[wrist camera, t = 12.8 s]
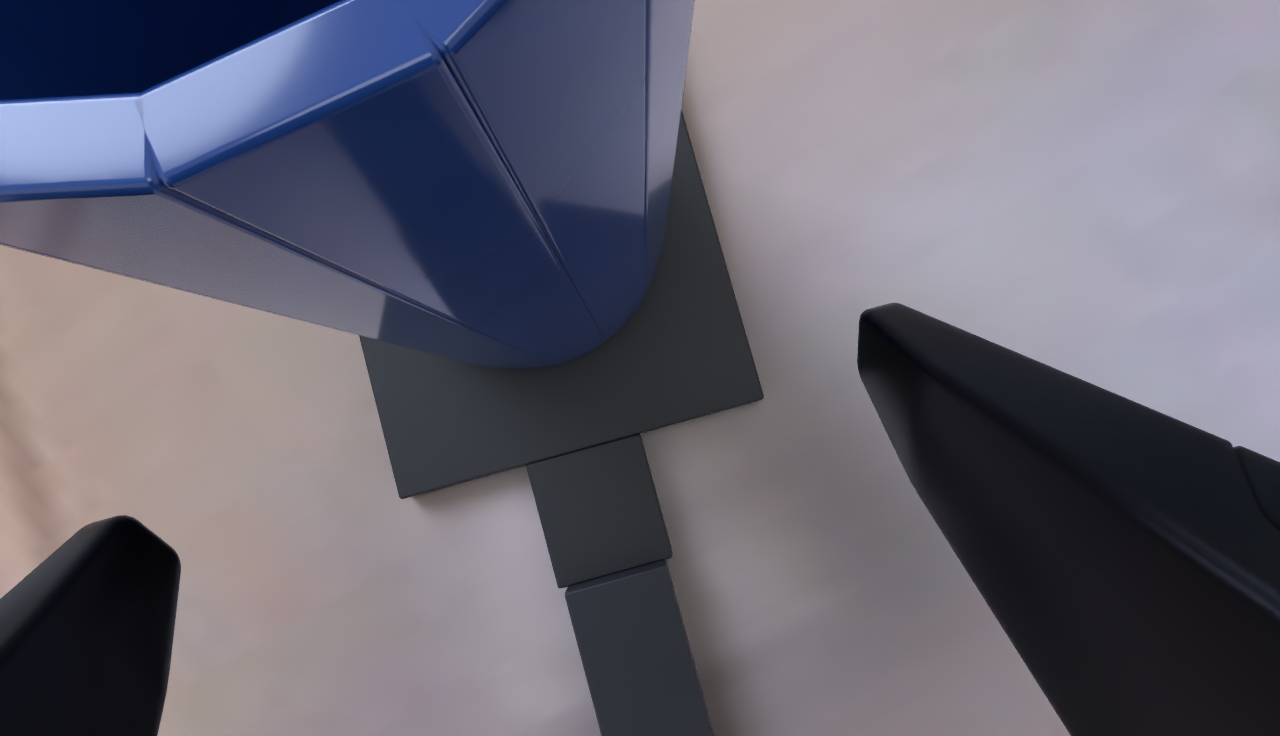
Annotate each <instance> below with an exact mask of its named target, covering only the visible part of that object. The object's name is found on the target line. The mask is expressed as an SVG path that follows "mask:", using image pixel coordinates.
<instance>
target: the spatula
mask: <svg viewBox="0 0 1280 736" xmlns="http://www.w3.org/2000/svg"><path fill="white" fill-rule="evenodd" d="M359 337H360V341H361V345H362V349H363V353H364V357H365V361H366V365H367V369H368V373H369V377H370V381H371V385H372V389H373V393H374V397H375V401H376V405H377V409H378V413H379V417H380V421H381V425H382V429H383V433H384V437H385V441H386V445H387V449H388V453H389V457H390V461H391V465H392V469H393V473H394V477H395V481H396V485H397V489H398V493H399V497H400V498H401V499H405V498H408V497H412V496H415V495H419V494H423V493H426V492H430V491H434V490H437V489H441V488H444V487H448V486H452V485H455V484H459V483H463V482H466V481H470V480H473V479H477V478H481V477H484V476H488V475H491V474H495V473H499V472H502V471H506V470H510V469H513V468H517V467H520V466H524V465H527V470H528V474H529V478H530V482H531V486H532V490H533V493H534V497H535V501H536V505H537V509H538V512H539V516H540V520H541V524H542V528H543V531H544V535H545V539H546V543H547V547H548V551H549V554H550V558H551V562H552V566H553V570H554V573H555V577H556V581H557V585H558V587H559V588H564V587H568V588H567V590H566V592H565V598H566V602H567V606H568V610H569V613H570V617H571V621H572V625H573V629H574V632H575V636H576V640H577V644H578V648H579V651H580V655H581V659H582V663H583V667H584V670H585V674H586V678H587V682H588V686H589V689H590V693H591V697H592V701H593V705H594V709H595V712H596V716H597V720H598V724H599V728H600V731H601V735H602V736H714V734H713V730H712V726H711V723H710V719H709V715H708V712H707V708H706V704H705V701H704V697H703V693H702V690H701V686H700V682H699V679H698V675H697V671H696V668H695V664H694V660H693V657H692V653H691V649H690V646H689V642H688V638H687V635H686V631H685V627H684V624H683V620H682V616H681V613H680V609H679V606H678V602H677V598H676V595H675V591H674V587H673V584H672V580H671V576H670V573H669V569H668V565H667V562H666V559H668V558H671V557H672V556H673V553H672V549H671V545H670V541H669V538H668V534H667V530H666V527H665V523H664V520H663V516H662V512H661V509H660V505H659V501H658V498H657V494H656V490H655V487H654V483H653V479H652V476H651V472H650V468H649V465H648V461H647V458H646V454H645V450H644V447H643V443H642V439H641V436H640V433H643V432H647V431H651V430H654V429H658V428H661V427H665V426H669V425H672V424H676V423H680V422H683V421H687V420H690V419H694V418H698V417H701V416H705V415H708V414H712V413H716V412H719V411H723V410H727V409H730V408H734V407H737V406H741V405H745V404H748V403H752V402H756V401H759V400H762V399H763V398H764V395H763V392H762V388H761V385H760V381H759V378H758V374H757V371H756V367H755V364H754V360H753V357H752V353H751V350H750V346H749V343H748V340H747V336H746V333H745V329H744V326H743V322H742V319H741V315H740V312H739V308H738V305H737V301H736V298H735V294H734V291H733V287H732V284H731V280H730V277H729V273H728V270H727V266H726V263H725V259H724V256H723V253H722V249H721V246H720V242H719V239H718V235H717V232H716V228H715V225H714V221H713V218H712V214H711V211H710V207H709V204H708V200H707V197H706V193H705V190H704V186H703V183H702V179H701V176H700V172H699V169H698V165H697V162H696V159H695V155H694V152H693V148H692V145H691V141H690V138H689V134H688V131H687V127H686V124H685V120H684V117H683V113H682V110H681V113H680V121H679V128H678V136H677V144H676V152H675V160H674V168H673V176H672V183H671V191H670V199H669V207H668V215H667V223H666V231H665V239H664V246H663V249H662V252H661V255H660V258H659V261H658V265H657V268H656V272H655V275H654V278H653V280H652V283H651V285H650V287H649V290H648V292H647V294H646V296H645V297H644V300H643V301H642V302H641V304H640V306H639V307H638V309H637V310H636V312H635V313H634V314H633V315H632V317H631V318H630V319H629V320H628V322H627V323H626V324H625V325H624V326H623V327H622V328H621V329H620V330H619V331H618V332H617V333H616V334H615V335H614V336H612V337H611V338H610V339H608V340H607V341H606V342H604V343H603V344H602V345H600V346H599V347H597V348H596V349H594V350H592V351H590V352H588V353H587V354H585V355H583V356H581V357H578V358H576V359H573V360H571V361H568V362H566V363H562V364H558V365H554V366H551V367H545V368H537V369H492V368H488V367H484V366H480V365H476V364H472V363H468V362H464V361H460V360H456V359H452V358H449V357H445V356H441V355H437V354H433V353H429V352H425V351H421V350H417V349H413V348H409V347H405V346H401V345H397V344H393V343H389V342H385V341H381V340H377V339H373V338H369V337H365V336H361V335H359Z"/></svg>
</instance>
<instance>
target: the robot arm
mask: <svg viewBox="0 0 1280 736" xmlns="http://www.w3.org/2000/svg"><path fill="white" fill-rule="evenodd" d="M857 363H858V370H859V374H860V377H861V379H862V382H863V384H864V386H865V388H866V390H867V392H868V394H869V396H870V398H871V401H872V403H873V405H874V407H875V409H876V411H877V413H878V415H879V417H880V419H881V421H882V424H883V426H884V428H885V430H886V432H887V434H888V436H889V438H890V440H891V442H892V444H893V447H894V449H895V451H896V453H897V455H898V457H899V459H900V461H901V463H902V465H903V467H904V469H905V471H906V473H907V475H908V477H909V479H910V481H911V483H912V485H913V486H914V488H915V490H916V491H917V493H918V495H919V496H920V498H921V500H922V501H923V503H924V504H925V506H926V508H927V509H928V511H929V512H930V514H931V516H932V517H933V519H934V520H935V522H936V523H937V525H938V527H939V528H940V530H941V531H942V533H943V534H944V536H945V538H946V539H947V541H948V542H949V544H950V546H951V547H952V549H953V550H954V552H955V553H956V555H957V557H958V558H959V560H960V561H961V563H962V564H963V566H964V568H965V569H966V571H967V572H968V574H969V576H970V577H971V579H972V580H973V582H974V583H975V585H976V587H977V588H978V590H979V591H980V593H981V594H982V596H983V598H984V599H985V601H986V602H987V604H988V606H989V607H990V609H991V610H992V612H993V613H994V615H995V617H996V618H997V620H998V621H999V623H1000V624H1001V626H1002V628H1003V629H1004V631H1005V632H1006V634H1007V636H1008V637H1009V639H1010V640H1011V642H1012V643H1013V645H1014V647H1015V648H1016V650H1017V651H1018V653H1019V654H1020V656H1021V658H1022V659H1023V661H1024V662H1025V664H1026V666H1027V667H1028V669H1029V670H1030V672H1031V673H1032V675H1033V677H1034V678H1035V680H1036V681H1037V683H1038V684H1039V686H1040V688H1041V689H1042V691H1043V692H1044V694H1045V695H1046V697H1047V699H1048V700H1049V702H1050V703H1051V705H1052V707H1053V708H1054V710H1055V711H1056V713H1057V714H1058V716H1059V718H1060V719H1061V721H1062V722H1063V724H1064V725H1065V727H1066V729H1067V730H1068V732H1069V733H1070V735H1071V736H1280V462H1278V461H1275V460H1273V459H1270V458H1268V457H1266V456H1263V455H1261V454H1259V453H1256V452H1254V451H1251V450H1249V449H1247V448H1244V447H1241V446H1237V447H1234V448H1233V446H1232V444H1231V443H1230V442H1229V441H1227V440H1224V439H1222V438H1220V437H1217V436H1215V435H1212V434H1210V433H1208V432H1205V431H1203V430H1201V429H1198V428H1196V427H1193V426H1191V425H1189V424H1186V423H1184V422H1181V421H1179V420H1177V419H1174V418H1172V417H1169V416H1167V415H1165V414H1162V413H1160V412H1158V411H1155V410H1153V409H1150V408H1148V407H1146V406H1143V405H1141V404H1138V403H1136V402H1134V401H1131V400H1129V399H1126V398H1124V397H1122V396H1119V395H1117V394H1115V393H1112V392H1110V391H1107V390H1105V389H1103V388H1100V387H1098V386H1095V385H1093V384H1091V383H1088V382H1086V381H1083V380H1081V379H1079V378H1076V377H1074V376H1071V375H1069V374H1067V373H1064V372H1062V371H1060V370H1057V369H1055V368H1052V367H1050V366H1048V365H1045V364H1043V363H1040V362H1038V361H1036V360H1033V359H1031V358H1028V357H1026V356H1024V355H1021V354H1019V353H1017V352H1014V351H1012V350H1009V349H1007V348H1005V347H1002V346H1000V345H997V344H995V343H993V342H990V341H988V340H985V339H983V338H981V337H978V336H976V335H974V334H971V333H969V332H966V331H964V330H962V329H959V328H957V327H954V326H952V325H950V324H947V323H945V322H942V321H940V320H938V319H935V318H933V317H931V316H928V315H926V314H923V313H921V312H919V311H916V310H914V309H911V308H909V307H907V306H904V305H902V304H898V303H889V304H886V305H882V306H878V307H875V308H871V309H867V310H865V311H864V312H863V313H862V314H861V316H860V320H859V336H858V358H857ZM180 573H181V564H180V559H179V557H178V555H177V553H176V551H175V550H174V549H173V548H172V547H171V546H169V545H168V544H167V543H166V542H164V541H163V540H162V539H161V538H159V537H158V536H157V535H156V534H154V533H153V532H152V531H151V530H149V529H148V528H147V527H146V526H144V525H143V524H142V523H141V522H139V521H138V520H136V519H135V518H133V517H130V516H126V515H124V516H115V517H112V518H108V519H104V520H101V521H97V522H93V523H91V524H88V525H86V526H85V527H83V528H81V529H80V530H79V531H78V532H77V533H75V534H74V535H73V536H72V537H71V538H70V539H69V540H67V541H66V542H65V543H64V544H63V545H62V546H61V547H59V548H58V549H57V550H56V551H55V552H54V553H53V554H51V555H50V556H49V557H48V558H47V559H46V560H45V561H43V562H42V563H41V564H40V565H39V566H38V567H37V568H35V569H34V570H33V571H32V572H31V573H30V574H29V575H27V576H26V577H25V578H24V579H23V580H22V581H21V582H19V583H18V584H17V585H16V586H15V587H14V588H13V589H11V590H10V591H9V592H8V593H7V594H6V595H5V596H3V597H2V598H1V599H0V736H157V734H158V730H159V725H160V721H161V716H162V712H163V707H164V702H165V696H166V691H167V685H168V677H169V670H170V662H171V653H172V644H173V635H174V626H175V617H176V609H177V600H178V591H179V582H180Z"/></svg>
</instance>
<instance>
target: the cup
mask: <svg viewBox="0 0 1280 736" xmlns="http://www.w3.org/2000/svg"><path fill="white" fill-rule="evenodd" d="M694 2H695V0H0V245H3V246H7V247H11V248H15V249H19V250H23V251H27V252H31V253H35V254H39V255H43V256H47V257H51V258H55V259H59V260H63V261H67V262H71V263H75V264H79V265H82V266H86V267H90V268H94V269H98V270H102V271H106V272H110V273H114V274H118V275H122V276H126V277H130V278H134V279H138V280H142V281H146V282H150V283H154V284H158V285H162V286H166V287H170V288H174V289H178V290H182V291H186V292H190V293H194V294H198V295H202V296H206V297H210V298H214V299H218V300H222V301H226V302H230V303H234V304H238V305H242V306H246V307H250V308H254V309H258V310H262V311H266V312H269V313H273V314H277V315H281V316H285V317H289V318H293V319H297V320H301V321H305V322H309V323H313V324H317V325H321V326H325V327H329V328H333V329H337V330H341V331H345V332H349V333H353V334H357V335H361V336H365V337H369V338H373V339H377V340H381V341H385V342H389V343H393V344H397V345H401V346H405V347H409V348H413V349H417V350H421V351H425V352H429V353H433V354H437V355H441V356H445V357H449V358H452V359H456V360H460V361H464V362H468V363H472V364H476V365H480V366H484V367H488V368H492V369H537V368H545V367H551V366H554V365H558V364H562V363H566V362H568V361H571V360H573V359H576V358H578V357H581V356H583V355H585V354H587V353H588V352H590V351H592V350H594V349H596V348H597V347H599V346H600V345H602V344H603V343H604V342H606V341H607V340H608V339H610V338H611V337H612V336H614V335H615V334H616V333H617V332H618V331H619V330H620V329H621V328H622V327H623V326H624V325H625V324H626V323H627V322H628V320H629V319H630V318H631V317H632V315H633V314H634V313H635V312H636V310H637V309H638V307H639V306H640V304H641V302H642V301H643V300H644V297H645V296H646V294H647V292H648V290H649V287H650V285H651V283H652V280H653V278H654V275H655V272H656V268H657V265H658V261H659V258H660V255H661V252H662V249H663V246H664V239H665V231H666V223H667V215H668V207H669V199H670V191H671V183H672V176H673V168H674V160H675V152H676V144H677V136H678V128H679V121H680V113H681V105H682V97H683V89H684V81H685V73H686V65H687V58H688V50H689V42H690V34H691V26H692V18H693V10H694Z"/></svg>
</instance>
